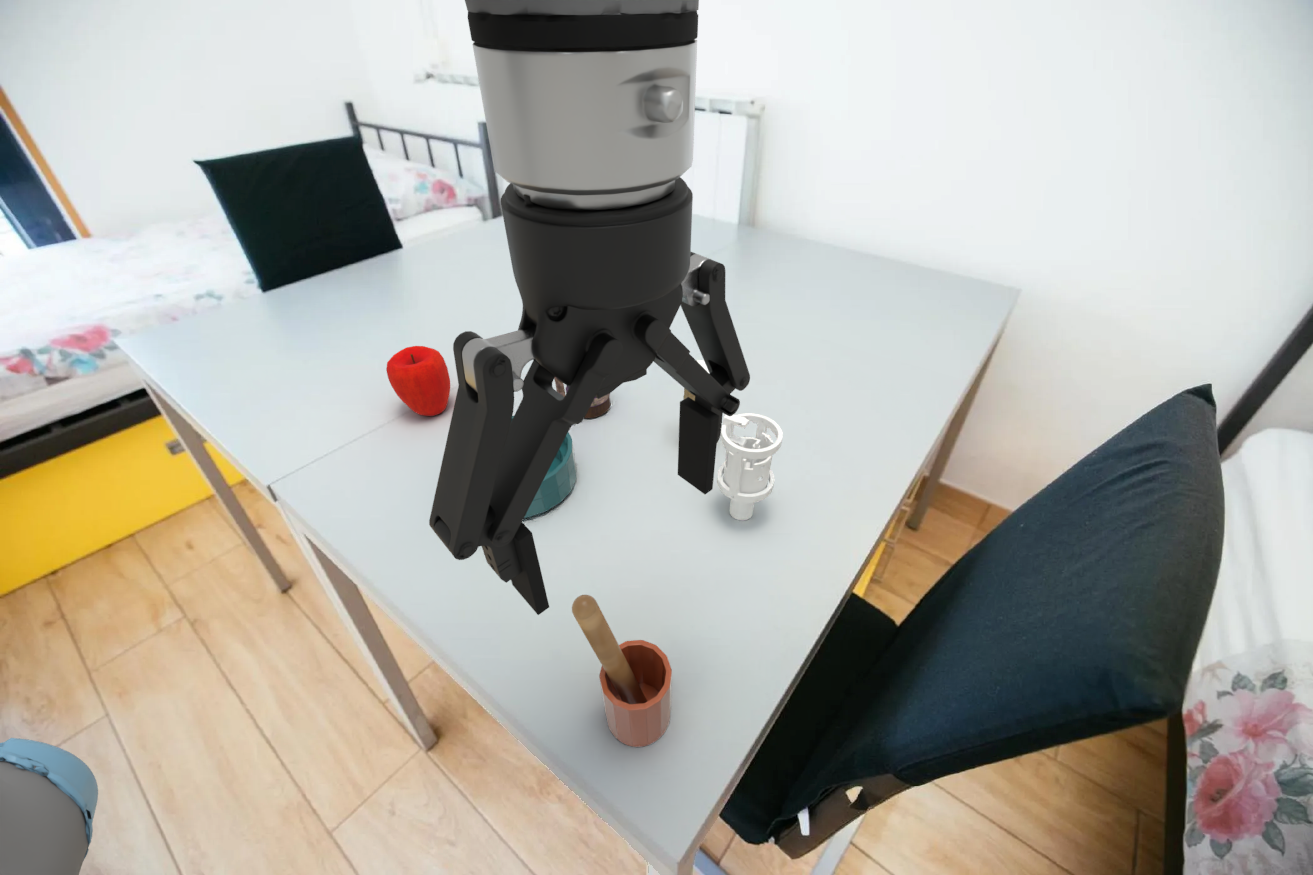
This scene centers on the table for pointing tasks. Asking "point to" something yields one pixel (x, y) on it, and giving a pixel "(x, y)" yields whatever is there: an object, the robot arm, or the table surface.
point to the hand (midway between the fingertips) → (621, 533)
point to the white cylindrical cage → (747, 463)
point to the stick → (607, 649)
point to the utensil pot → (655, 681)
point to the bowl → (556, 480)
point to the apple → (420, 379)
